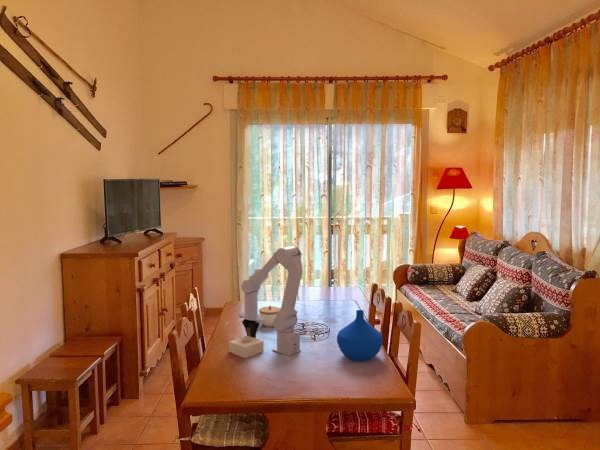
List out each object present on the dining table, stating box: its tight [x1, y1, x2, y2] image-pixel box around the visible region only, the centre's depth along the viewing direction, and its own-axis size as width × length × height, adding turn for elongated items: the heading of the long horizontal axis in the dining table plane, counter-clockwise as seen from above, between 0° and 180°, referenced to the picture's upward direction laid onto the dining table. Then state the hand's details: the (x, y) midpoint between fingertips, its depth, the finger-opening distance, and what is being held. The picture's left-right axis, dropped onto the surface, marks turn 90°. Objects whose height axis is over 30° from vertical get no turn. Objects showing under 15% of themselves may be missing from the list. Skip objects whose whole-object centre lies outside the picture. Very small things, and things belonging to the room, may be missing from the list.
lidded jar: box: [258, 305, 281, 328], centre depth 233 cm, size 11×11×9 cm
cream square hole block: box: [228, 335, 264, 359], centre depth 197 cm, size 10×10×4 cm
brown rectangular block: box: [246, 327, 257, 339], centre depth 208 cm, size 2×4×7 cm, turn 138°
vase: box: [336, 309, 384, 363], centre depth 191 cm, size 18×18×19 cm
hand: (251, 336), depth 208 cm, fingers closed on brown rectangular block, 2 cm apart
